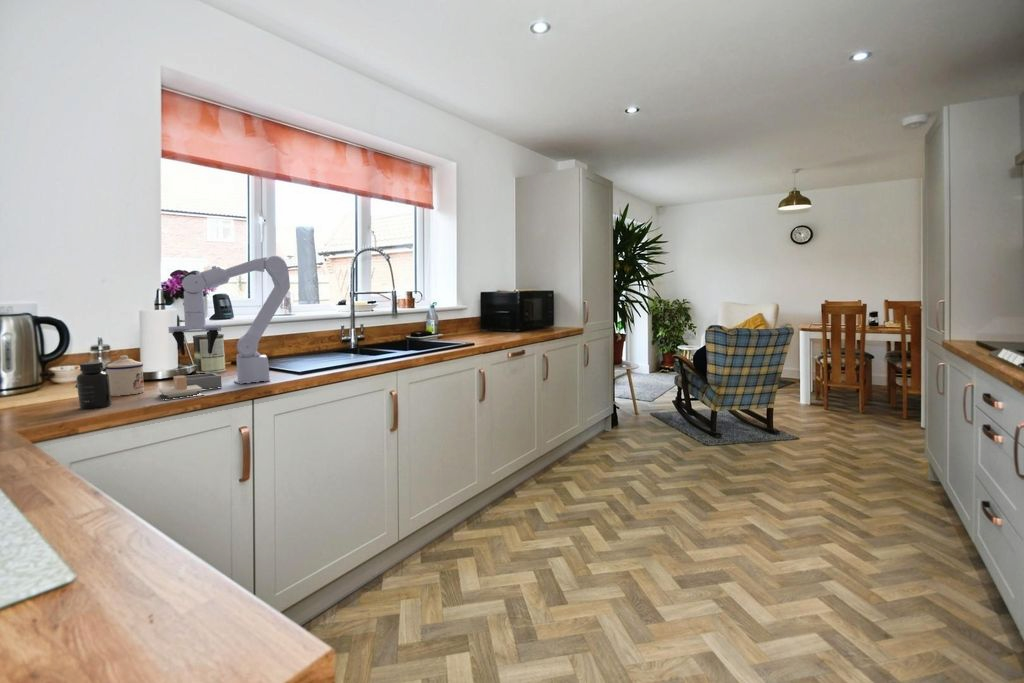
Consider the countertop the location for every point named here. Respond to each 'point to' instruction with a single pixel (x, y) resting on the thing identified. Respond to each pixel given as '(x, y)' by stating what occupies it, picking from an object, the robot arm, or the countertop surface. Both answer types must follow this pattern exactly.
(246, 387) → the countertop surface
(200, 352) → the coffee can
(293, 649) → the countertop surface
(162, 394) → the mat
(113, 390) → the ceramic lidded jar
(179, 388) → the lid
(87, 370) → the supplement bottle
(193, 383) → the box
